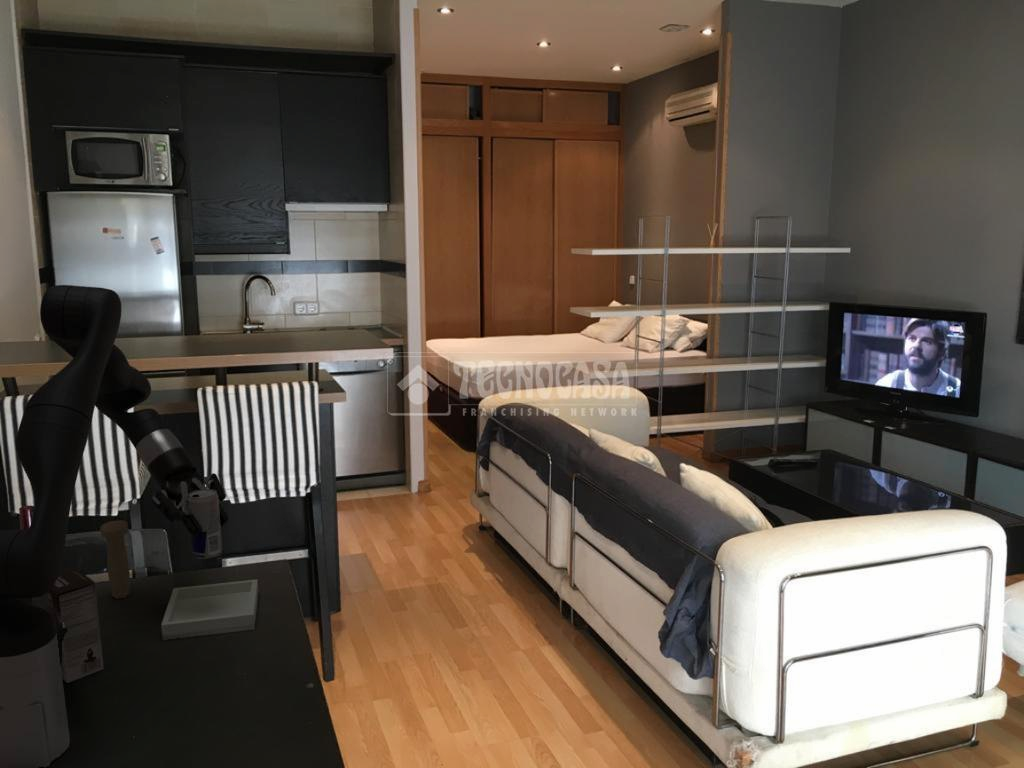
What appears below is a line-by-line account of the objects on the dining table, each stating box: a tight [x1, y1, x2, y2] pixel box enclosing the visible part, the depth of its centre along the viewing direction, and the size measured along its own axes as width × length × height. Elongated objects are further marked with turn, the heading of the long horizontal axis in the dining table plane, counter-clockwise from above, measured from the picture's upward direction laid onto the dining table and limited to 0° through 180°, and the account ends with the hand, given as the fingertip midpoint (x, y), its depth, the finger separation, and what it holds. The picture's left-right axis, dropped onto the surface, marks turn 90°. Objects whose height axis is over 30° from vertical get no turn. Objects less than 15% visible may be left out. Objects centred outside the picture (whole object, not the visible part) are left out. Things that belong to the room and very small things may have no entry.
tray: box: [160, 578, 259, 641], centre depth 161 cm, size 16×16×3 cm
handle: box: [100, 519, 131, 600], centre depth 169 cm, size 5×6×15 cm
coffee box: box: [47, 566, 105, 684], centre depth 142 cm, size 9×6×16 cm
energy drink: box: [188, 488, 223, 560], centre depth 158 cm, size 5×5×12 cm
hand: (212, 528), depth 157 cm, fingers closed on energy drink, 5 cm apart
